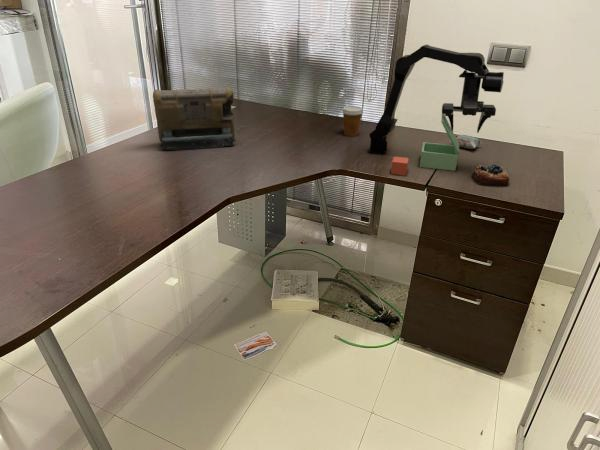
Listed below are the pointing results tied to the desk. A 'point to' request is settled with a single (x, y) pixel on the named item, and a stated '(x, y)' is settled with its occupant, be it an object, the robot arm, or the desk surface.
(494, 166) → the pastry
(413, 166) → the desk surface
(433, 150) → the lunchbox
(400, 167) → the red cube
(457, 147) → the lunchbox lid
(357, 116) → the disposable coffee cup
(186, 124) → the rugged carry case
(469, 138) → the packaged food
